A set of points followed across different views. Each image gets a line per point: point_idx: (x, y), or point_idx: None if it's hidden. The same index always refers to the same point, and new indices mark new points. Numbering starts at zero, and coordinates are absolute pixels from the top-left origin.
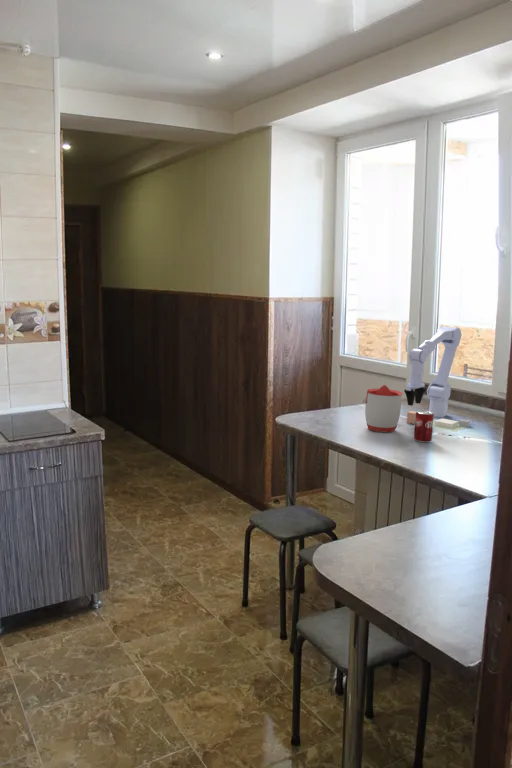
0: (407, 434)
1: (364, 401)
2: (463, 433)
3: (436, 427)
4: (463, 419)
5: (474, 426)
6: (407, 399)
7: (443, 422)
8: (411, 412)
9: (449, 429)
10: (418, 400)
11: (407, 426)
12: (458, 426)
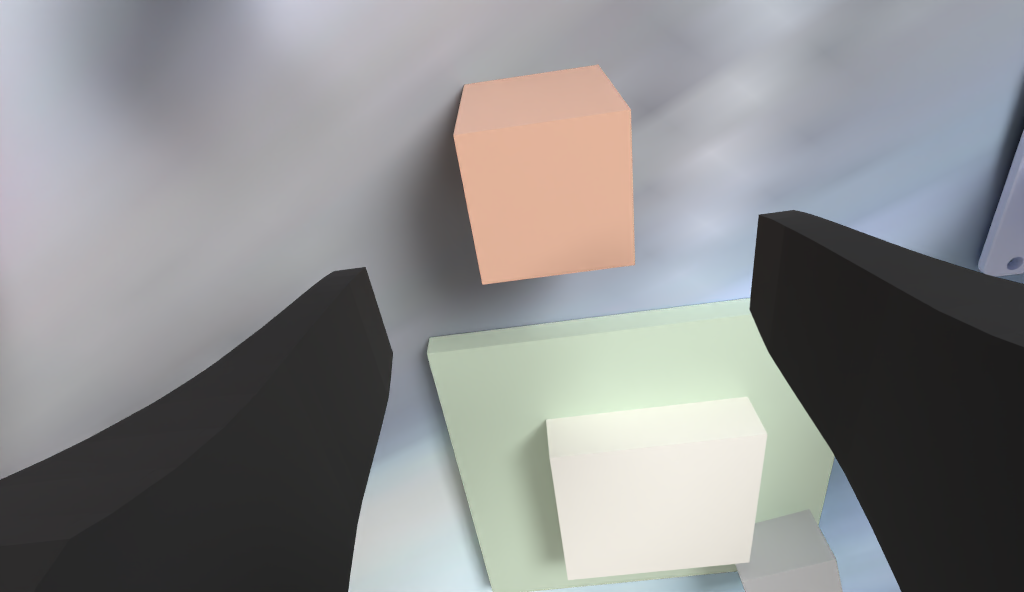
0: (32, 421)
1: None
2: (568, 589)
3: (478, 471)
4: (834, 575)
5: None
6: (249, 352)
7: (568, 526)
8: (502, 193)
9: (518, 548)
10: (784, 320)
11: (289, 230)
12: None
